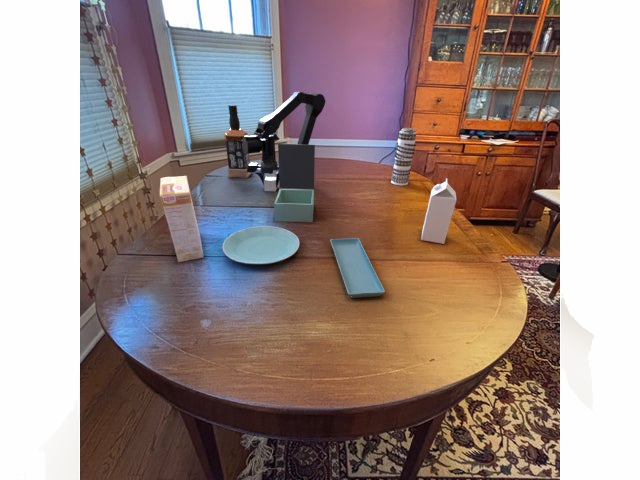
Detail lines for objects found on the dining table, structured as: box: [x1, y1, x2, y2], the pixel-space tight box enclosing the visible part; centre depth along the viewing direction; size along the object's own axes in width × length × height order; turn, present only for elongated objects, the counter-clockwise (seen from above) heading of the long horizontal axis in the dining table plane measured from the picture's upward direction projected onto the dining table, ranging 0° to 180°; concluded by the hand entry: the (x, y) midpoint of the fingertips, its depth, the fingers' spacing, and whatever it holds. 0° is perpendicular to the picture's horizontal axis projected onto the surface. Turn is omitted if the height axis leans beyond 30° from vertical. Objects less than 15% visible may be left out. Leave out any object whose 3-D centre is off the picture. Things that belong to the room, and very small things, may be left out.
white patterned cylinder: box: [390, 127, 418, 186], centre depth 141 cm, size 9×9×25 cm
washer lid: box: [277, 143, 316, 190], centre depth 112 cm, size 16×13×1 cm
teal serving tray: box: [329, 237, 386, 299], centre depth 81 cm, size 26×9×2 cm, turn 8°
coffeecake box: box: [159, 175, 204, 263], centre depth 84 cm, size 15×7×20 cm, turn 23°
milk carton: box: [420, 177, 458, 245], centre depth 93 cm, size 7×7×19 cm
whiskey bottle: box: [223, 104, 253, 179], centre depth 144 cm, size 10×10×32 cm
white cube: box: [263, 176, 278, 192], centre depth 133 cm, size 5×5×5 cm
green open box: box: [273, 188, 315, 223], centre depth 111 cm, size 15×13×7 cm
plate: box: [222, 225, 300, 265], centre depth 88 cm, size 22×22×3 cm
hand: (270, 187), depth 134 cm, fingers closed on white cube, 5 cm apart
